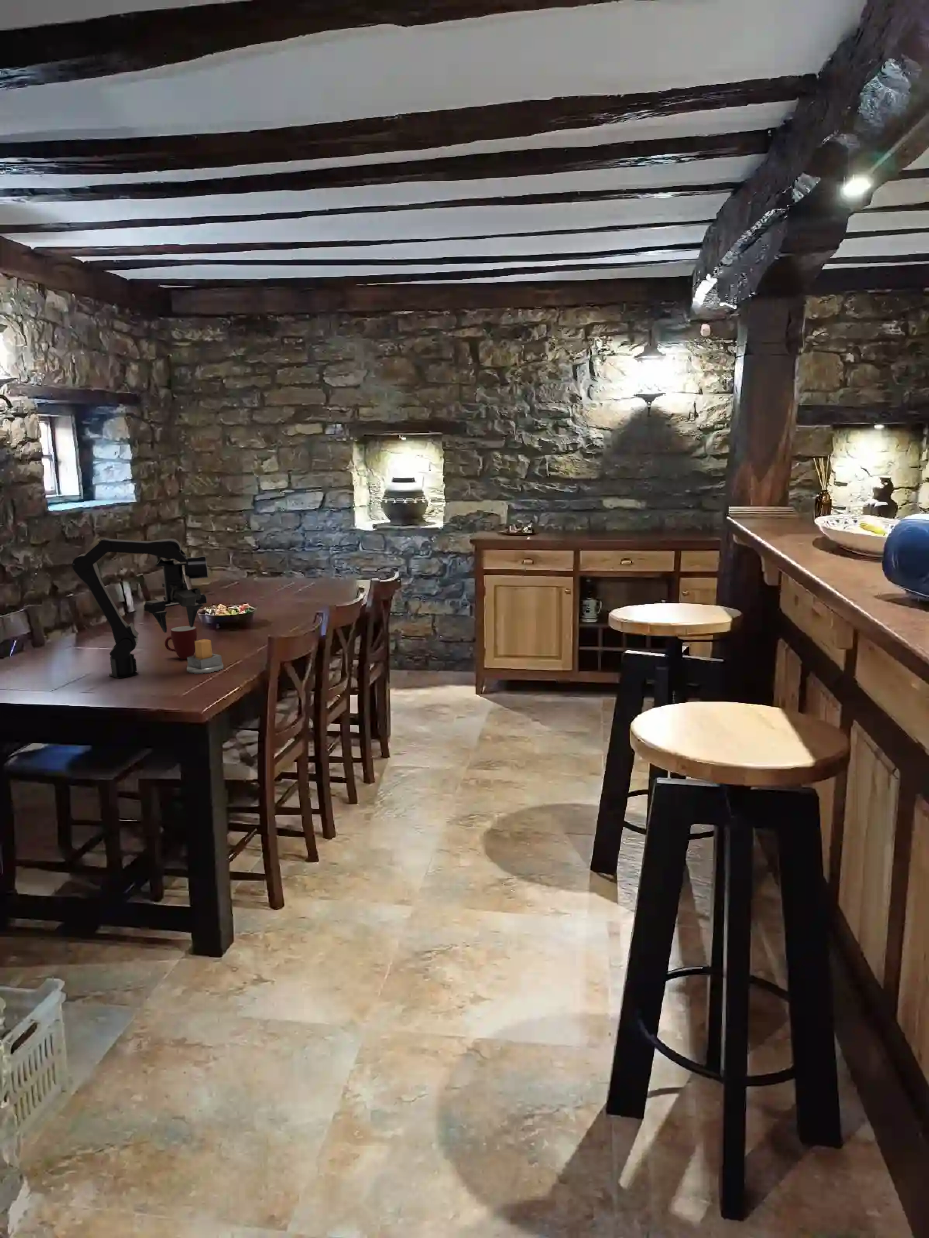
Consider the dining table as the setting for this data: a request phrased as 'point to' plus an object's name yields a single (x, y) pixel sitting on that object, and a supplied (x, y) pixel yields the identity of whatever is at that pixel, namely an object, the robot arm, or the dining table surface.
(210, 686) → the dining table surface
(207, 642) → the orange-brown rectangular block
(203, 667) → the silver square frame
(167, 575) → the robot arm
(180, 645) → the mug
